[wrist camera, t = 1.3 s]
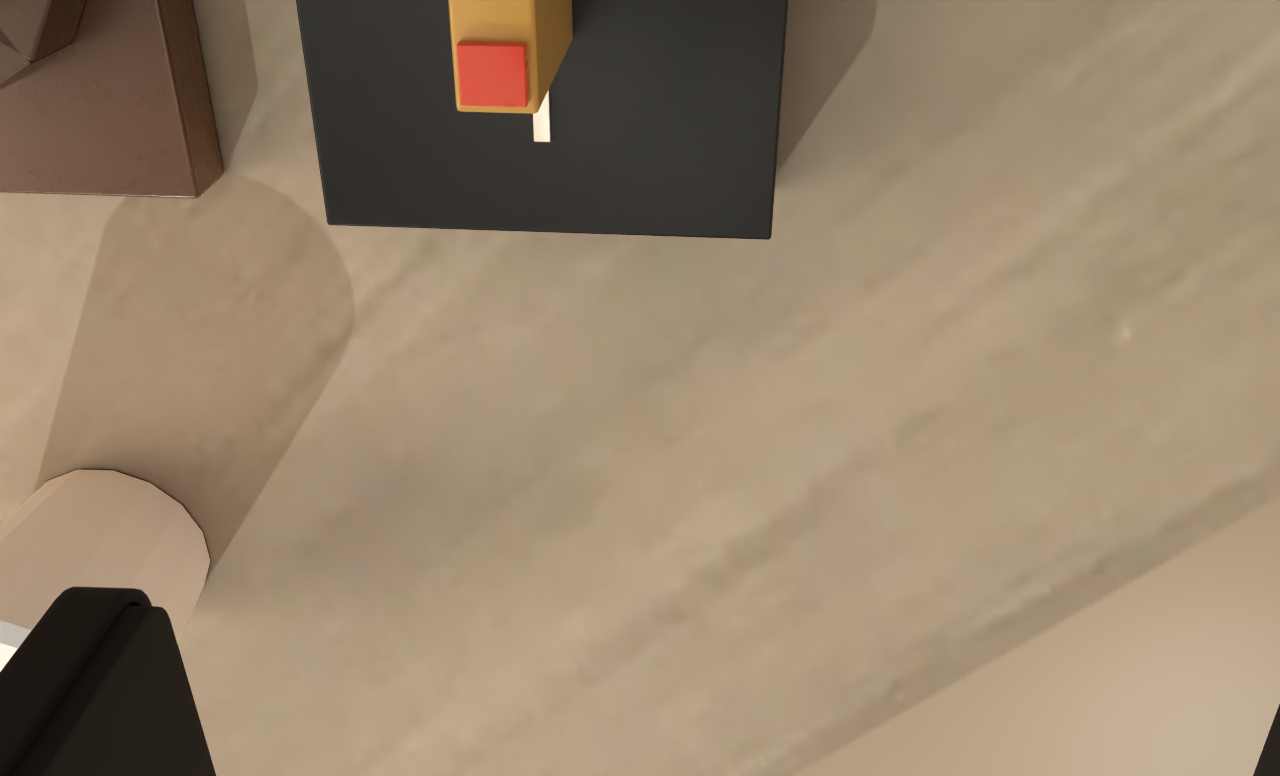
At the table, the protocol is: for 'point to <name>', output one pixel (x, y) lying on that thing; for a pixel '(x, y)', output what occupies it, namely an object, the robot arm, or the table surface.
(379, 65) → the plate
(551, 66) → the yellow flat block
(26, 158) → the button block
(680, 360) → the table surface
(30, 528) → the beige cup
